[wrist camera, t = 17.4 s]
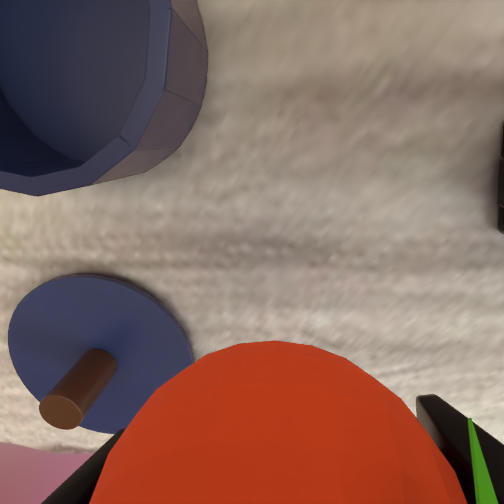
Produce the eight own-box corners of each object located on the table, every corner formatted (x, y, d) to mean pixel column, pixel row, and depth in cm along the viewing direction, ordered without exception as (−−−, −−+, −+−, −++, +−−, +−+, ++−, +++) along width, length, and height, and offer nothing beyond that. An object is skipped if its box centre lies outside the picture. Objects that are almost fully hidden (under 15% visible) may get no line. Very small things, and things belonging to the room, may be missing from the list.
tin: (170, -132, 14) (92, -329, 8) (230, 154, 18) (208, 160, 12) (-64, -51, 16) (-270, -166, 10) (37, 194, 20) (-66, 218, 14)
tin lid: (167, 255, 21) (130, 293, 15) (215, 414, 25) (199, 486, 20) (-13, 286, 22) (-99, 329, 17) (61, 429, 27) (9, 498, 22)
